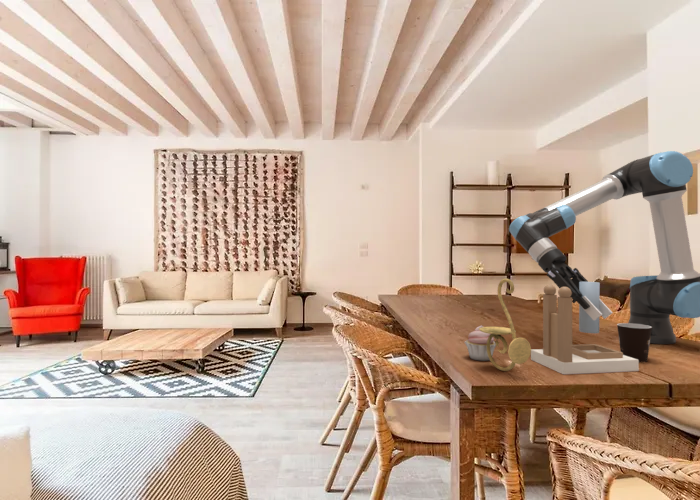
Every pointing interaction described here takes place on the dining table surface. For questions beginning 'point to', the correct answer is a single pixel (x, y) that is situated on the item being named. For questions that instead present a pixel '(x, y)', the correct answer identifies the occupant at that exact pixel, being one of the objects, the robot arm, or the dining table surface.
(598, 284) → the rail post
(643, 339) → the coffee mug
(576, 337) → the dining table surface
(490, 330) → the wall sconce
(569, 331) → the peg insertion fixture
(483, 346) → the cupcake
